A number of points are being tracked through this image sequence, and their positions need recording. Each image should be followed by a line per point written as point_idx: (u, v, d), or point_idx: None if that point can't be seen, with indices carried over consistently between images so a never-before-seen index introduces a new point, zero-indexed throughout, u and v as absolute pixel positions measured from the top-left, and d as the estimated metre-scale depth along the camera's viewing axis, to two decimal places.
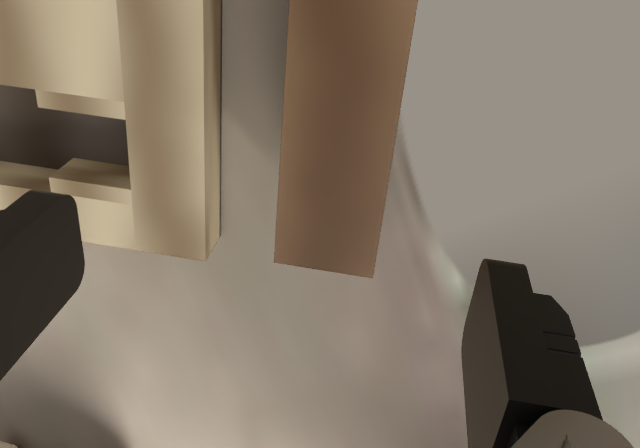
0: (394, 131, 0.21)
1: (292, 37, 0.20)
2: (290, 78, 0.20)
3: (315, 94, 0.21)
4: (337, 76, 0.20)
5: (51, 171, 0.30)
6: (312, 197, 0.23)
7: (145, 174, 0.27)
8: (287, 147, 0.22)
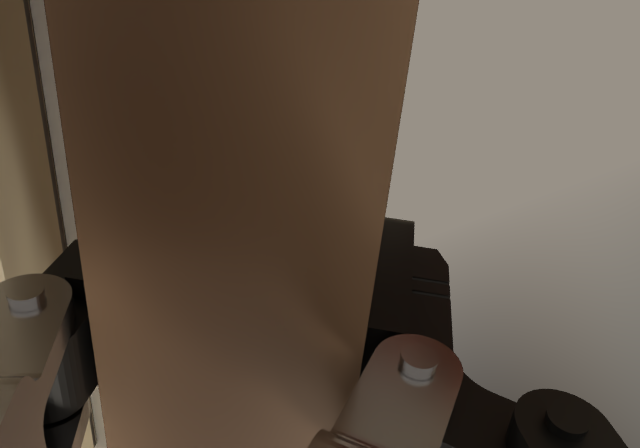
0: None
1: (91, 260, 0.08)
2: (103, 336, 0.09)
3: (163, 368, 0.09)
4: (208, 340, 0.09)
5: None
6: None
7: None
8: None
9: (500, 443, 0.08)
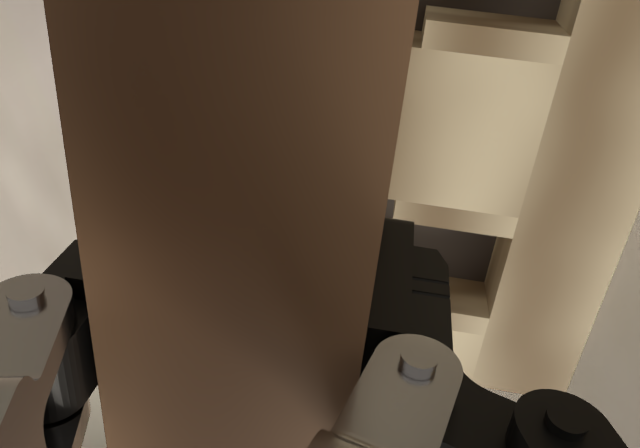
0: None
1: (90, 256, 0.08)
2: (102, 333, 0.09)
3: (162, 364, 0.09)
4: (207, 337, 0.09)
5: None
6: None
7: (516, 302, 0.21)
8: None
9: (500, 443, 0.08)
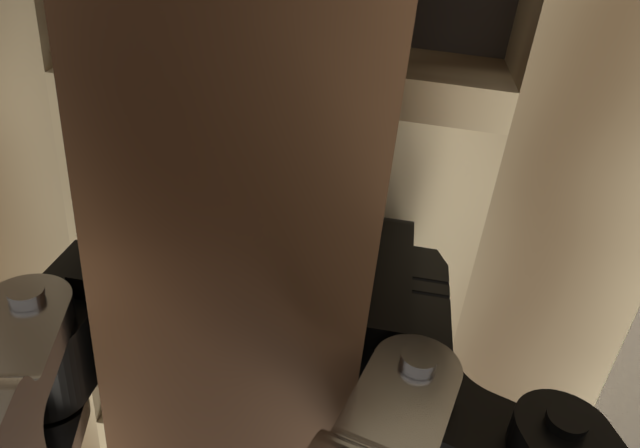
0: None
1: (90, 255, 0.08)
2: (102, 332, 0.09)
3: (162, 363, 0.09)
4: (207, 335, 0.09)
5: None
6: None
7: None
8: (120, 447, 0.10)
9: (500, 443, 0.08)
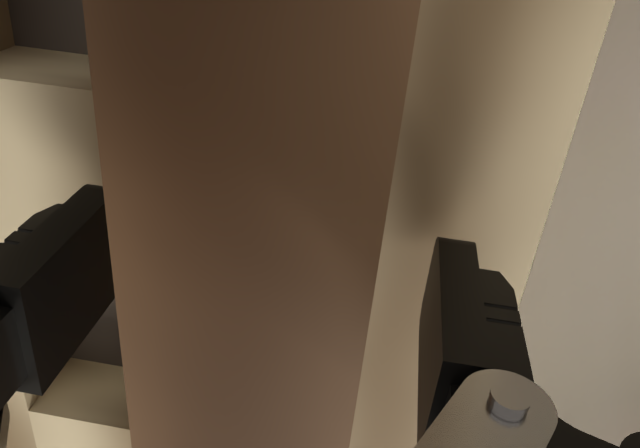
0: (351, 407, 0.10)
1: (118, 233, 0.09)
2: (127, 306, 0.10)
3: (182, 335, 0.10)
4: (225, 308, 0.09)
5: None
6: None
7: (368, 430, 0.16)
8: (140, 416, 0.11)
9: None
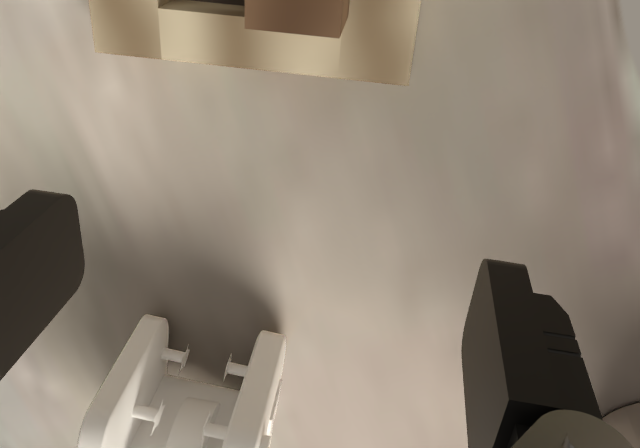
0: None
1: None
2: None
3: None
4: None
5: None
6: None
7: None
8: None
9: None
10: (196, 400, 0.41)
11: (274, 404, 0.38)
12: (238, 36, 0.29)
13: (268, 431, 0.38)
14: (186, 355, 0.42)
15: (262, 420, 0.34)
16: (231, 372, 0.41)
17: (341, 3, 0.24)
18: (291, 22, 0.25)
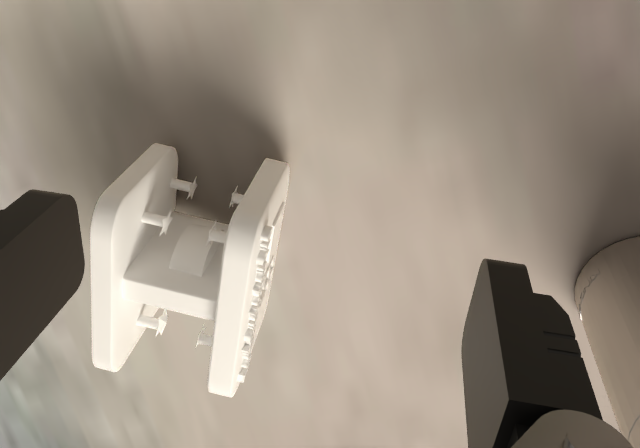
0: None
1: None
2: None
3: None
4: None
5: None
6: None
7: None
8: None
9: None
10: (202, 225, 0.43)
11: (277, 216, 0.40)
12: None
13: (270, 240, 0.39)
14: (194, 186, 0.44)
15: (265, 210, 0.36)
16: (237, 200, 0.43)
17: None
18: None
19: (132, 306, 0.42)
